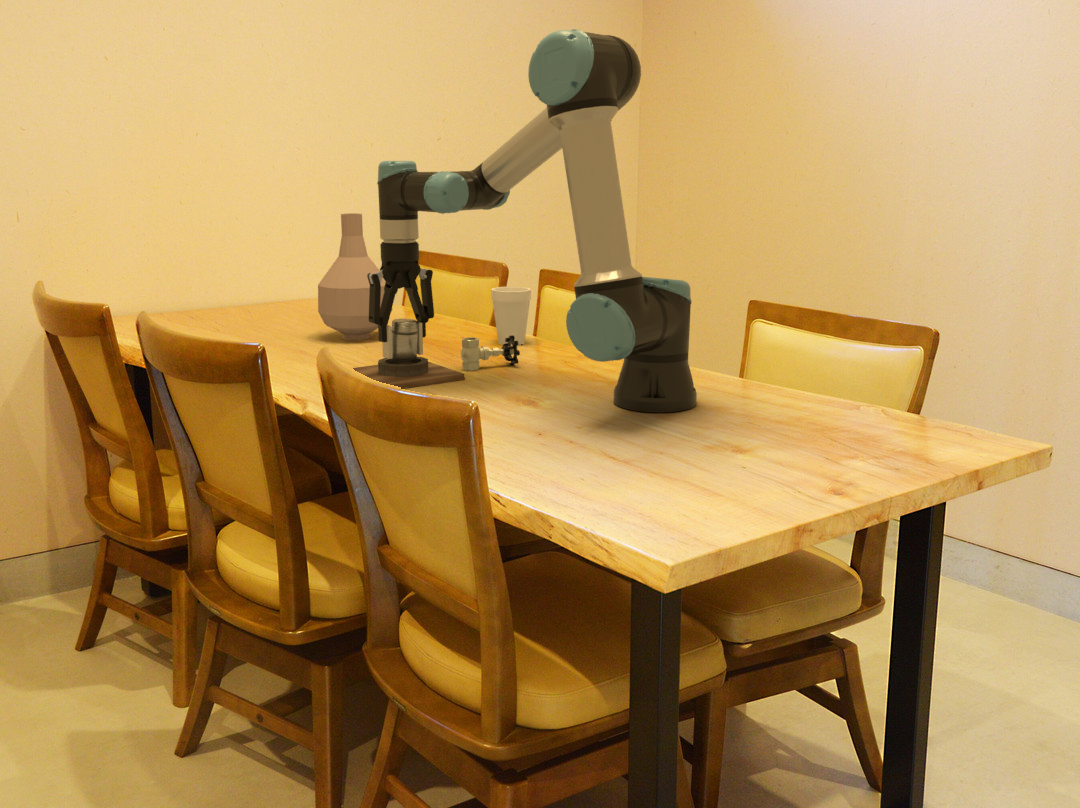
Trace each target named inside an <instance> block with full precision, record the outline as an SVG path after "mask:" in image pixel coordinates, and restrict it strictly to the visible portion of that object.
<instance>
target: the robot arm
mask: <svg viewBox="0 0 1080 808" xmlns="http://www.w3.org/2000/svg"><path fill="white" fill-rule="evenodd" d="M641 72H642V65H641V61H640V58H639V56H638V53H637V52H636V50H635V49H634V48H633V46H631V44H630V43H628V41H626V40H624V39H622V38H620V37H618V36H615V35H609V34H600V33H594V32H593V33H592V32H587V31H582V30H581V29H570V30H569V29H568V30H567V29H560V30H555V31H553V32H551V33H548V34H547V35H546V36H545V37H543V38H542V39H541V40H540V41H539V43H538V44H537V45H536V48H535V50H534V51H533V52H532V54H531V57H530V60H529V65H528V74H527V75H528V83H529V86H530V90H531V91H532V94H534V95H533V96H534V97H537V98H538V100H539V101H540V102H542V103H543V104H544V105H546V107H545V108H544V109H543V110H542V111H540V113H538V114H537V115H536V116H535V117H534V118H532V119H531V120H530V121H529V122H527V124H525V125H524V126H523V127H522V128H521V129H520V130H519V131H517V132H516V133H515V134H513V136H512V137H510V138H509V139H508V140H507V141H505V143H503V144H502V145H501V146H500V147H499V148H497V149H496V150H495V151H494V152H493V153H491V155H489V156H488V157H487V158H486V159H485V160H483V161H482V162H481V163H480V164H479V165H478V166H476V167H475V168H474V169H472V170H459V171H455V170H454V171H449V170H448V171H443V170H442V171H418V168H417V163H416V161H413V160H383V161H381V162H379V164H378V168H377V169H378V170H377V171H378V172H377V183H376V184H377V188H378V190H377V191H378V192H377V193H378V212H379V238H380V239H381V240H382V242H381V243H380V245H379V247H380V261H381V266H380V268H379V270H380V271H378V272H375V273H368V275H367V277H368V281H369V284H370V292H369V322H371V323H374V324H377V325H378V329H377V331H378V334H377V335H378V341H379V343H380V342H381V343H382V357H383V358H388V359H393V357H392V325H389V322H390V321H389V320H390V316H391V314H392V311H393V306H394V301H395V297H396V295H397V293H398V291H399V290H400V289H402V288H403V289H404V290H405V291H406V294H407V296H408V300H409V302H410V305H411V309H412V311H413V312H412V313H414V317H415V320H416V321H417V322H418V338H417V355H419V356H422V355H424V341H423V338H426V336H427V330H426V328H427V323H428V322H429V319H433V318H434V317H435V309H434V308H435V307H434V298H433V287H432V279H433V273H434V272H433V270H432V269H428V268H421V265H420V264H419V259H420V247H419V246H420V243H418V241H416V240H418V239H419V214H418V213H419V212H427V213H428V212H429V213H438V214H442V215H444V214H453V213H458V212H460V211H473V210H475V211H476V210H484V211H485V210H487V211H489V210H492V209H496V208H499V207H501V206H504V204H505V203H507V202H508V198H509V196H510V192H511V190H512V189H513V188H514V187H515V186H517V185H518V184H520V183H521V182H522V181H523V180H524V179H526V178H527V177H528V176H530V175H531V174H532V173H533V172H534V171H536V170H537V169H538V168H540V167H541V166H542V165H543V164H544V163H546V162H547V161H548V160H549V159H551V158H552V157H553V156H555V155H556V154H557V153H558V152H560V151H561V150H562V156H563V161H564V167H565V168H564V169H565V174H566V175H565V176H566V181H567V188H568V194H569V201H570V209H571V214H572V221H573V227H574V234H575V241H576V247H577V254H578V261H579V267H580V276H578V278H577V280H576V281H575V283H574V284H573V288H574V295H575V299H574V301H572V302H571V304H570V307H569V309H568V310H567V313H566V318H565V319H566V321H565V322H566V324H565V325H566V326H565V327H566V330H567V334H568V337H569V340H570V341H571V343H572V344H573V346H574V348H576V350H577V351H578V352H580V353H581V355H583V356H584V357H586V358H587V359H590V360H592V361H595V362H604V363H605V362H613V361H620V360H623V361H622V362H623V363H622V366H621V369H620V372H619V376H618V379H617V384H616V385H615V387H614V389H613V404H614V405H616V406H617V407H619V408H622V409H627V410H628V411H629V410H630V411H635V412H636V411H637V412H642V413H643V412H645V413H674V412H675V413H676V412H681V411H682V412H683V411H687V410H690V409H693V408H694V407H696V405H697V396H698V395H697V389H696V388H695V386H694V381H693V376H692V372H691V368H690V365H689V364H690V363H689V347H690V328H691V327H690V325H691V324H690V323H691V307H692V306H691V305H692V299H691V286H690V283H688V282H687V281H685V280H681V279H672V278H661V277H658V278H657V277H651V276H650V277H648V276H643V275H642V273H640V272H639V271H638V270H637V269H635V267H634V266H633V265H632V260H631V252H630V251H631V250H630V245H629V239H628V238H629V237H628V232H627V231H628V230H627V226H626V225H627V224H626V219H625V211H624V202H623V197H622V190H621V184H620V177H619V170H618V162H617V161H618V160H617V156H616V148H615V141H614V134H613V129H612V128H613V127H612V121H613V119H614V118H615V116H616V115H617V113H618V112H619V111H620V110H621V109H623V108H624V106H626V105H627V104H628V103H629V102H630V101H631V100H632V98H634V95H635V94H636V92H637V91H638V88H639V86H640V82H641V77H642V73H641ZM382 277H383V278H384V280H385V281H386V283H385V287H384V295H383V299H382V303H381V307H380V297H381V284H380V283H381V282H382V280H381V279H382ZM417 278H419V282H420V283H419V284H420V285H419V286H420V293H419V291H418V290H419V287H418V284H417V281H416V280H417ZM420 294H421V295H420ZM420 296H421V297H420ZM391 310H392V311H391ZM390 313H391V314H390Z"/></svg>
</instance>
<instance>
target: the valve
mask: <svg viewBox="0 0 1080 808" xmlns="http://www.w3.org/2000/svg"><path fill="white" fill-rule="evenodd" d="M514 340H515V337H514V335H512V336H509V338H505V342H508V343H506V344H503V345H501V348H500V347H492V348H490V347H488V346H487V345H482V346H480V338H478V337H473V336H471V337H469V336H468V337H463V338H462V340H461V347H462V348H461V350H460V358H461V360H462V364H461V365H462V371H467V372H471V371H472V372H473V371H479V370H480V360H482V361H488V360H489V358H491V356H492V357H499V356H500V355H502V357H503V358H504V360H505V361H507V362H508V365H509V366H510V367H511V366H515V365H517V364H519V359H518V357H519V356H520V354H521V353H520V352H521V351H520V350H518V346H519V345H518V341H514ZM511 344H512V345H513V346H511Z"/></svg>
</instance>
